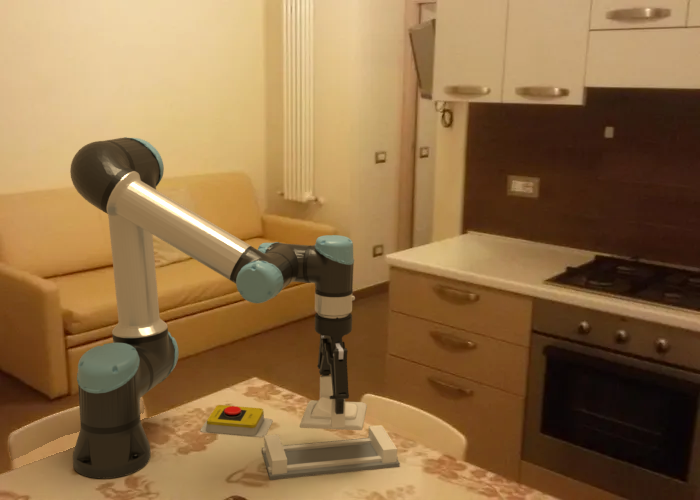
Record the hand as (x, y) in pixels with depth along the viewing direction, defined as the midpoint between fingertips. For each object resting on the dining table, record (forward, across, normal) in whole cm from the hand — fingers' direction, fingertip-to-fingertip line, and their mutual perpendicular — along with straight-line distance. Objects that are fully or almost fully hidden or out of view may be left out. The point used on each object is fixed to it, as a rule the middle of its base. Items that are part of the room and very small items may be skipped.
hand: (331, 415), depth 154 cm
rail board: (+10, 0, 0) cm, 10 cm away
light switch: (+1, +1, -1) cm, 2 cm away
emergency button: (+10, +19, +18) cm, 28 cm away
